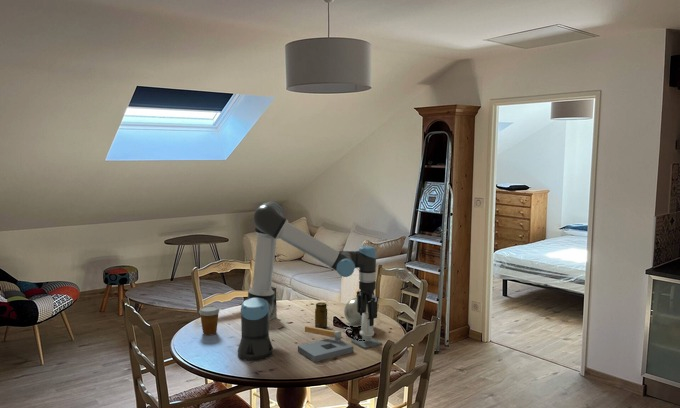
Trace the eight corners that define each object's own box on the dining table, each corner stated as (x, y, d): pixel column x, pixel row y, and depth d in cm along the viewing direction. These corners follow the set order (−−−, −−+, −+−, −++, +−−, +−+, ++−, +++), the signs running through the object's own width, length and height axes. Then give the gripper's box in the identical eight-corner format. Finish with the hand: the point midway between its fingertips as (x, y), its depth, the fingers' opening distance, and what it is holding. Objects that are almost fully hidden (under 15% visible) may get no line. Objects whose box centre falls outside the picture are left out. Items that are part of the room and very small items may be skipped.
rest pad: (364, 349, 245) (364, 347, 245) (351, 342, 254) (351, 340, 254) (382, 344, 251) (382, 342, 251) (368, 337, 259) (368, 336, 259)
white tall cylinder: (365, 342, 247) (365, 316, 246) (356, 338, 253) (356, 312, 251) (377, 339, 251) (377, 314, 250) (368, 335, 257) (368, 310, 255)
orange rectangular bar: (303, 332, 255) (303, 326, 254) (307, 330, 257) (307, 324, 257) (339, 339, 246) (339, 333, 246) (342, 337, 249) (342, 331, 248)
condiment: (322, 324, 278) (322, 300, 277) (333, 328, 272) (333, 304, 270) (310, 327, 274) (310, 303, 272) (321, 331, 267) (321, 307, 266)
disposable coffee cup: (201, 337, 258) (200, 312, 257) (197, 331, 267) (197, 307, 266) (221, 334, 262) (221, 310, 261) (217, 328, 271) (217, 304, 270)
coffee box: (267, 315, 291) (267, 285, 289) (277, 317, 288) (276, 287, 286) (255, 319, 284) (255, 289, 282) (264, 322, 280) (264, 291, 278)
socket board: (314, 361, 231) (314, 353, 231) (297, 351, 243) (297, 342, 242) (353, 351, 242) (353, 343, 242) (335, 342, 254) (335, 333, 253)
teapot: (377, 329, 271) (377, 296, 269) (352, 333, 265) (352, 300, 263) (360, 318, 287) (360, 287, 285) (336, 322, 281) (336, 290, 279)
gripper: (386, 283, 244) (385, 334, 246) (362, 275, 258) (362, 323, 261) (372, 286, 239) (371, 338, 242) (349, 277, 254) (349, 326, 257)
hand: (366, 330), depth 252 cm, fingers closed on white tall cylinder, 4 cm apart
